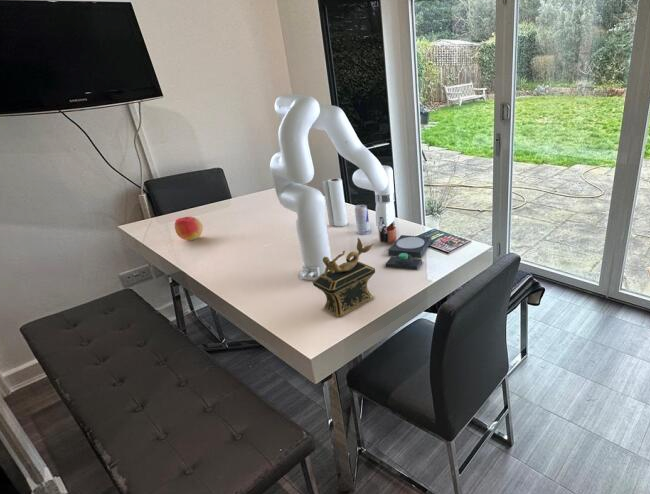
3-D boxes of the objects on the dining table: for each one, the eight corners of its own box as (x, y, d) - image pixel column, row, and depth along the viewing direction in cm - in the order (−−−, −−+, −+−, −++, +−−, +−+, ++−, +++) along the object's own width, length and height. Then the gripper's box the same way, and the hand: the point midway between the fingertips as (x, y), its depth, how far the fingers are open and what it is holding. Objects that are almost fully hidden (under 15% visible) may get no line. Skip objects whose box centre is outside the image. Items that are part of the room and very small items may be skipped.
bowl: (393, 244, 165) (392, 232, 163) (376, 242, 166) (375, 230, 164) (399, 237, 171) (398, 226, 169) (383, 236, 173) (382, 224, 171)
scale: (420, 258, 155) (420, 251, 154) (388, 255, 158) (388, 249, 157) (431, 242, 169) (431, 236, 168) (401, 240, 171) (401, 234, 170)
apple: (190, 244, 169) (183, 222, 165) (173, 242, 172) (166, 220, 168) (210, 236, 177) (204, 214, 173) (194, 233, 180) (187, 212, 176)
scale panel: (417, 270, 146) (416, 262, 145) (385, 267, 149) (384, 259, 147) (422, 262, 152) (421, 255, 151) (391, 259, 154) (390, 252, 153)
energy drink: (371, 230, 182) (368, 204, 177) (367, 234, 177) (364, 208, 172) (359, 229, 182) (356, 204, 178) (355, 234, 178) (352, 208, 173)
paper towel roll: (350, 222, 191) (344, 178, 182) (343, 227, 185) (337, 181, 177) (336, 221, 192) (330, 177, 184) (329, 226, 187) (322, 180, 178)
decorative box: (336, 321, 118) (326, 260, 110) (316, 310, 123) (305, 251, 115) (387, 292, 132) (382, 237, 124) (368, 284, 138) (361, 230, 130)
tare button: (406, 260, 148) (405, 256, 147) (397, 260, 148) (397, 256, 147) (409, 256, 150) (408, 253, 150) (400, 256, 151) (400, 252, 150)
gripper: (384, 190, 170) (387, 230, 177) (366, 203, 155) (370, 245, 161) (401, 191, 169) (403, 231, 176) (385, 204, 153) (388, 247, 160)
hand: (387, 238), depth 169 cm, fingers closed on bowl, 7 cm apart
